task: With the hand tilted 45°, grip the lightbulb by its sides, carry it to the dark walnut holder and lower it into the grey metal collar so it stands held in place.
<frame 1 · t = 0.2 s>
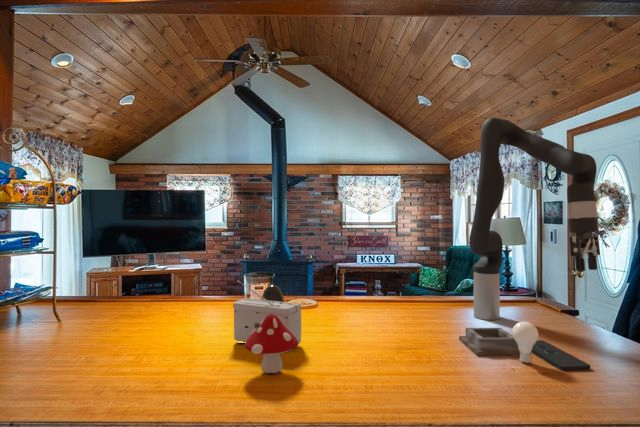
hand: (587, 270, 119), 23 cm above the kitchen counter, tool pointing down, fingers open, 8 cm apart
lightbulb: (525, 363, 106), on the kitchen counter
stereo radio cassette player: (266, 345, 122), on the kitchen counter
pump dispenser: (272, 328, 139), on the kitchen counter
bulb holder: (490, 347, 118), on the kitchen counter
decorative mushroom: (271, 373, 101), on the kitchen counter
smart home device: (551, 358, 111), on the kitchen counter
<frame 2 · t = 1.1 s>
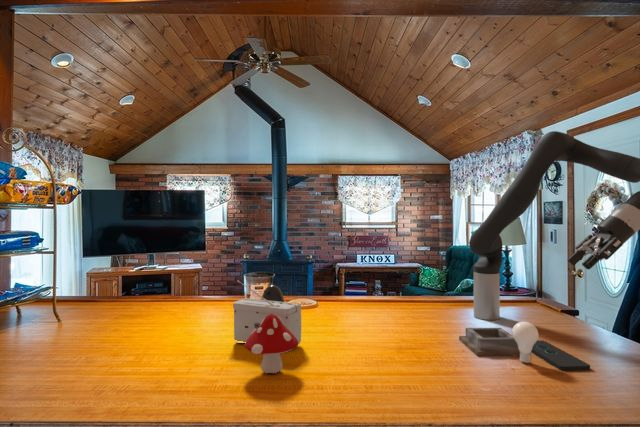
hand: (577, 265, 110), 26 cm above the kitchen counter, tool tilted 45°, fingers open, 8 cm apart
nothing on the kitchen counter moved.
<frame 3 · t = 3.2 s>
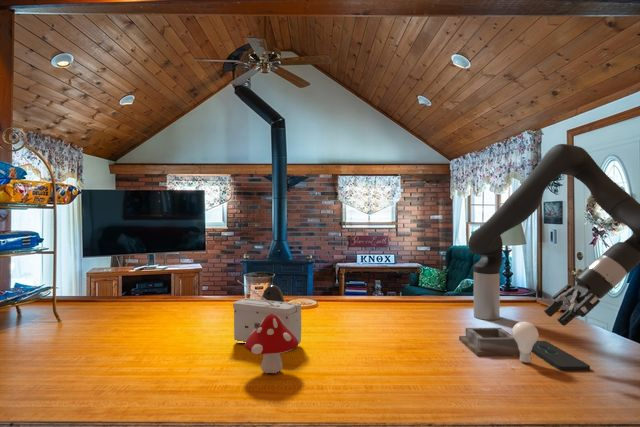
hand: (553, 318, 105), 12 cm above the kitchen counter, tool tilted 45°, fingers open, 8 cm apart
nothing on the kitchen counter moved.
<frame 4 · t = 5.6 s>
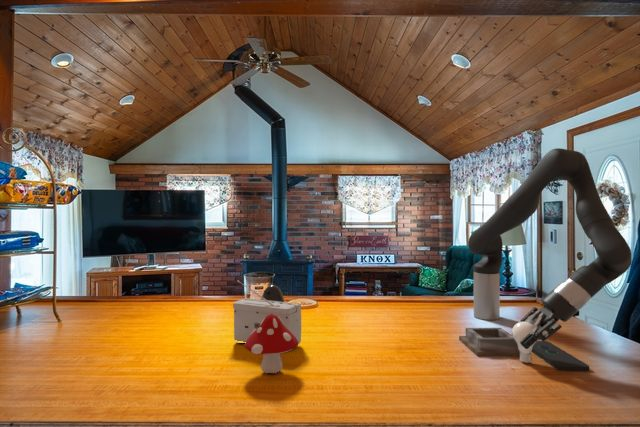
hand: (518, 341, 106), 6 cm above the kitchen counter, tool tilted 45°, fingers closed on lightbulb, 6 cm apart
lightbulb: (525, 363, 106), on the kitchen counter, touching gripper
everything else where it was.
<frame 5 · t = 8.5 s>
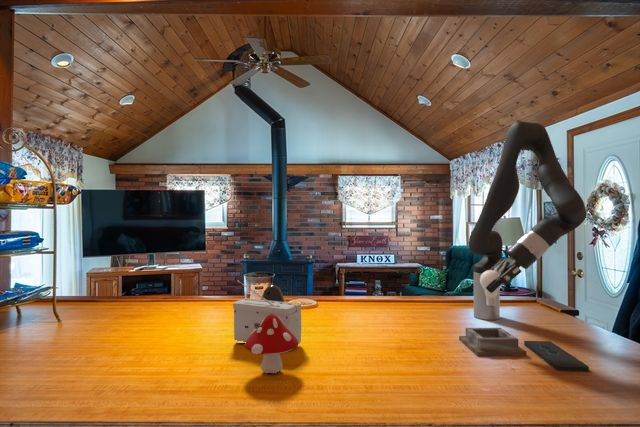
hand: (485, 288, 118), 18 cm above the kitchen counter, tool tilted 45°, fingers closed on lightbulb, 6 cm apart
lightbulb: (491, 307, 118), point 12 cm above the kitchen counter, touching gripper
everything else where it was.
when the fingers open (8 cm above the kitchen counter, at t = 11.6 s): lightbulb drops 1 cm, resting on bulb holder.
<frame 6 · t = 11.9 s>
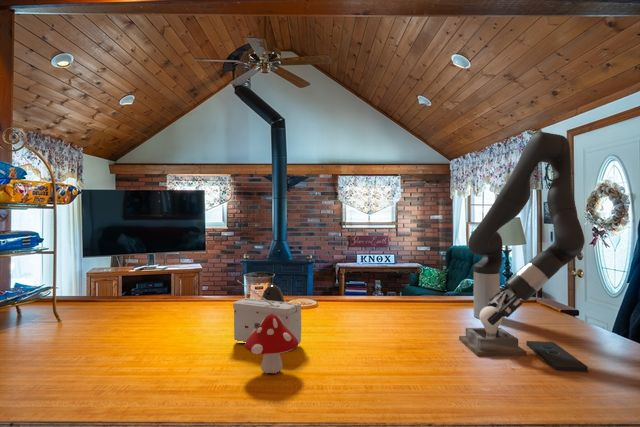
hand: (485, 318, 118), 9 cm above the kitchen counter, tool tilted 45°, fingers open, 8 cm apart
lightbulb: (491, 343, 118), point 1 cm above the kitchen counter, touching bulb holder
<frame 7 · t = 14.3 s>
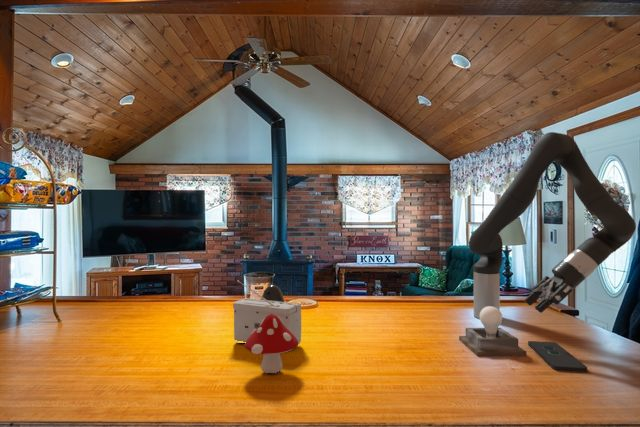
hand: (532, 306, 116), 13 cm above the kitchen counter, tool tilted 45°, fingers open, 8 cm apart
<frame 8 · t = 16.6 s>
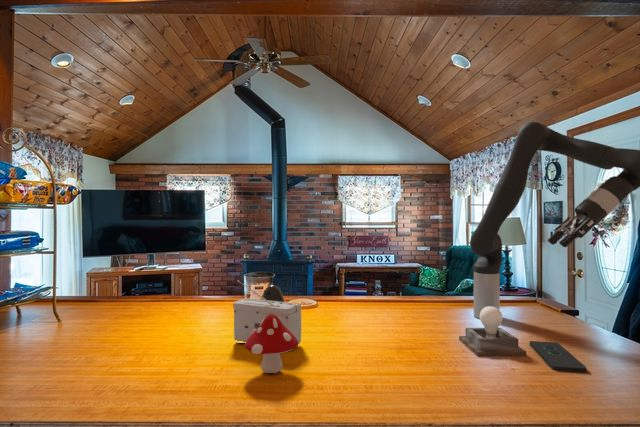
hand: (555, 244, 121), 31 cm above the kitchen counter, tool tilted 45°, fingers open, 8 cm apart
at the end: lightbulb 0.4 cm off-centre on the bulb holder, point 1.0 cm above the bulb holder's base; lightbulb tilted 0°; the gripper is holding nothing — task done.
